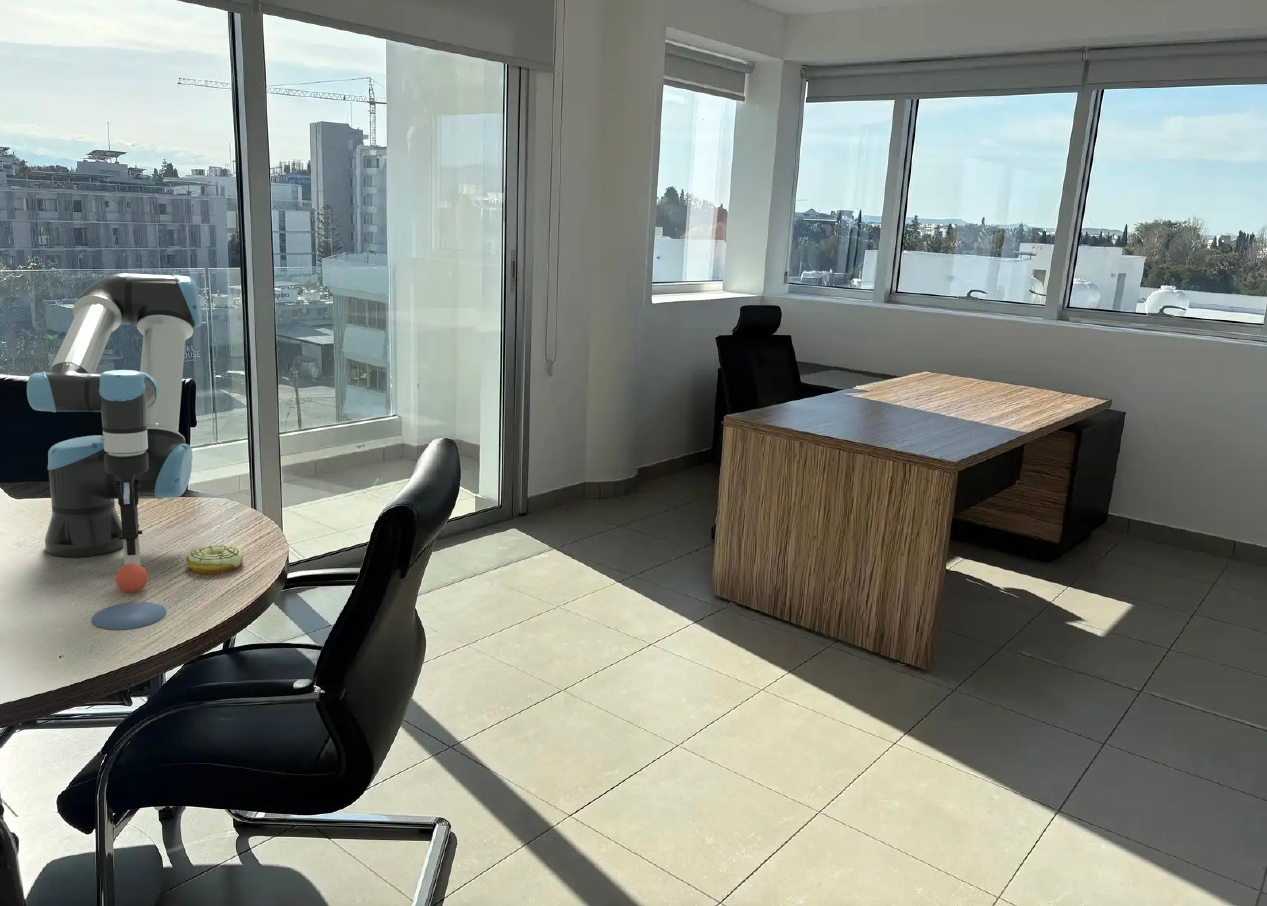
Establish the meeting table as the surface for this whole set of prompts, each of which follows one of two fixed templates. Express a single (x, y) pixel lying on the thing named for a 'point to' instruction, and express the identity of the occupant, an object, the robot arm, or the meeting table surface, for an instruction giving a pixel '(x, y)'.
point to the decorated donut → (214, 559)
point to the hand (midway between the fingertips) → (132, 568)
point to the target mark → (128, 615)
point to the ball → (131, 578)
